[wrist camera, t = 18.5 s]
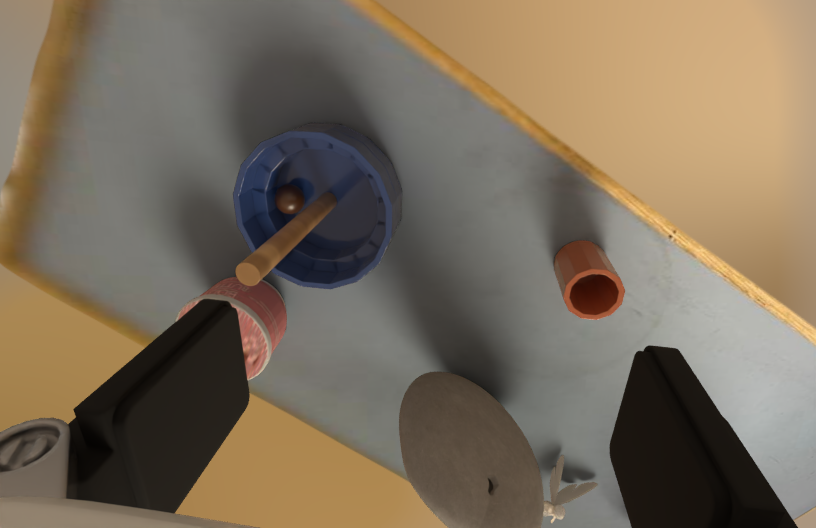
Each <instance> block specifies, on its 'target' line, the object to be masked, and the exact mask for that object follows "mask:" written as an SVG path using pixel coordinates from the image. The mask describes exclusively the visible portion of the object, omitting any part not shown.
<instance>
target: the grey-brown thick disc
mask: <svg viewBox="0 0 816 528" xmlns="http://www.w3.org/2000/svg"><path fill="white" fill-rule="evenodd" d="M399 433H400V443H401V451H402V458H403V463H404V467H405V470H406V473H407V476H408V478H409V481H410V482H411V484H412V486H413V488H414V489H415V490H416V492H417V494H418V495H419V496H420V498H421V499H422V500H423V502H424V503H425V504H426V505H427V506H428V507H429V508H430V510H431V511H432V512H433V513H434V514H435V515H436V516H437V517H438V518H439V519H440V520H441V521H442V522H443V523H444V524H445V525H446V526H447V527H448V528H541V524H542V520H543V512H544V497H543V486H542V480H541V475H540V471H539V467H538V464H537V461H536V458H535V456H534V454H533V451H532V449H531V447H530V445H529V443H528V441H527V439H526V438H525V436H524V434H523V433H522V431H521V429H520V428H519V426H518V425H517V423H516V422H515V421H514V419H513V418H512V417H511V416H510V414H509V413H508V412H507V411H506V410H505V408H504V407H503V406H502V405H501V404H500V403H499V402H498V401H497V400H496V399H495V398H494V397H492V396H491V395H490V394H489V393H488V392H486V391H485V390H484V389H483V388H481V387H480V386H478V385H477V384H475V383H473V382H472V381H470V380H468V379H466V378H464V377H461V376H459V375H456V374H452V373H448V372H430V373H426V374H423V375H421V376H419V377H418V378H417V379H415V380H414V381H413V382H412V384H411V385H410V386H409V388H408V389H407V391H406V393H405V395H404V398H403V400H402V404H401V408H400V415H399Z"/></svg>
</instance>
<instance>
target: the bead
mask: <svg viewBox="0 0 816 528" xmlns="http://www.w3.org/2000/svg"><path fill="white" fill-rule="evenodd" d="M274 200H275V204H276V206H277V208H278V209H279V210H280V211H281V212H283V213H286V214H295V213H297V212H299V211H300V210H301V209H302V208H303V206H304V203H305V196H304V194H303V192H302V190H301V189H300V188H299V187H297V186H295V185H291V184H287V185H283V186H281V187H280V188H279V189H278V190H277V191H276V193H275V198H274Z"/></svg>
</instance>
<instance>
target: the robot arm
mask: <svg viewBox="0 0 816 528" xmlns="http://www.w3.org/2000/svg"><path fill="white" fill-rule="evenodd" d="M248 402H249V387H248V380H247V373H246V366H245V360H244V353H243V346H242V339H241V332H240V325H239V318H238V312H237V310H236V308H234V307H232V306H231V304H230V302H228V301H225V300H215V299H203V300H201V301H200V302H199V303H197V304H196V305H195V306H194V307H193V308H192V309H190V310H189V311H188V312H187V313H186V314H185V315H183V316H182V317H181V318H180V319H179V320H177V321H176V322H175V323H174V324H173V325H172V326H170V327H169V328H168V329H167V330H166V331H165V332H163V333H162V334H161V335H160V336H159V337H158V338H156V339H155V340H154V341H153V342H152V343H151V344H149V345H148V346H147V347H146V348H145V349H144V350H142V351H141V352H140V353H139V354H138V355H136V356H135V357H134V358H133V359H132V360H131V361H129V362H128V363H127V364H126V365H125V366H124V367H122V368H121V369H120V370H119V371H118V372H117V373H115V374H114V375H113V376H112V377H111V378H110V379H108V380H107V381H106V382H105V383H104V384H102V385H101V386H100V387H99V388H98V389H97V390H96V391H94V392H93V393H92V394H91V395H90V396H88V397H87V398H86V399H85V400H84V401H82V402H81V403H80V404H79V405H78V406H77V407H75V408H74V412H75V415H76V418H75V419H74V420H73V421H71V422H70V423H69V424H67V423H66V422H64V421H63V420H60V419H56V418H39V419H35V420H30V421H26V422H23V423H20V424H17V425H15V426H12V427H10V428H8V429H6V430H4V431H2V432H0V528H258V527H252V526H245V525H240V524H233V523H228V522H222V521H216V520H210V519H204V518H198V517H192V516H186V515H180V514H174V513H175V512H176V510H177V509H178V507H179V506H180V505H181V503H182V502H183V500H184V499H185V497H186V496H187V494H188V493H189V491H190V490H191V488H192V487H193V485H194V484H195V483H196V481H197V479H198V478H199V477H200V475H201V474H202V472H203V471H204V469H205V468H206V467H207V465H208V464H209V462H210V461H211V459H212V458H213V456H214V455H215V453H216V452H217V450H218V449H219V448H220V446H221V445H222V443H223V442H224V440H225V439H226V437H227V436H228V434H229V433H230V431H231V430H232V429H233V427H234V425H235V424H236V423H237V421H238V420H239V418H240V417H241V415H242V414H243V412H244V411H245V409H246V407H247V405H248ZM610 458H611V462H612V465H613V468H614V471H615V475H616V478H617V481H618V484H619V488H620V491H621V494H622V497H623V501H624V504H625V507H626V510H627V514H628V517H629V520H630V523H631V526H632V528H798V527H797V526H796V524H795V523H794V521H793V519H792V518H791V516H790V515H789V513H788V512H787V510H786V509H785V507H784V506H783V504H782V503H781V501H780V500H779V498H778V497H777V495H776V494H775V492H774V491H773V489H772V488H771V486H770V485H769V483H768V482H767V480H766V479H765V477H764V476H763V474H762V473H761V471H760V470H759V468H758V467H757V465H756V464H755V462H754V460H753V459H752V457H751V456H750V454H749V453H748V451H747V450H746V448H745V447H744V445H743V444H742V442H741V441H740V439H739V438H738V436H737V435H736V433H735V432H734V430H733V429H732V427H731V426H730V424H729V423H728V422H727V420H726V419H725V418H724V417H722V415H721V414H720V412H719V411H718V409H717V408H716V406H715V404H714V403H713V401H712V400H711V398H710V397H709V395H708V394H707V392H706V391H705V389H704V388H703V386H702V385H701V383H700V382H699V380H698V379H697V377H696V375H695V374H694V372H693V371H692V369H691V368H690V366H689V365H688V363H687V362H686V360H685V359H684V357H683V356H682V354H681V353H680V351H679V350H678V349H676V348H668V347H659V346H647V347H646V348H645V349H644V351H638V352H636V354H635V356H634V360H633V363H632V367H631V370H630V374H629V377H628V381H627V385H626V388H625V392H624V395H623V399H622V402H621V406H620V409H619V413H618V417H617V420H616V424H615V427H614V431H613V434H612V438H611V442H610Z"/></svg>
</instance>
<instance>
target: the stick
mask: <svg viewBox="0 0 816 528" xmlns="http://www.w3.org/2000/svg"><path fill="white" fill-rule="evenodd" d="M336 205H337V199H336V197H335V196H334V195H333V194H332V193H329V192H326V193H324V194H322V195H321V196H320V197H319V198H318V199H316V200H315V201H314V202H313V203H312V204H310V205H309V206H308V207H307V208H306V209H304V210H303V211H302V212H301V213H300V214H298V215H297V216H296V217H295V218H294V219H292V220H291V221H290V222H289V223H288V224H286V225H285V226H284V227H283V228H282V229H280V230H279V231H278V232H277V233H276V234H274V235H273V236H272V237H271V238H270V239H268V240H267V241H266V242H265V243H264V244H262V245H261V246H260V247H259V248H258V249H256V250H255V251H254V252H253V253H252V254H250V255H249V256H248V257H247V258H246V259H244V260H243V261H242V262H241V263H240V264H239V265H238V266H237V267H236V276H237V278H238V280H239V281H240V282H241V283H243V284H244V285H247V286H254V285H256V284H257V283H259V282H260V281H261V280H262V279H263V278H264V277H265V276H266V275H267V274H268V273H269V272H270V271H271V270H272V269H273V268H274V267H275V266H276V265H277V264H278V263H279V262H280V261H281V260H282V259H283V258H284V257H285V256H286V255H287V254H288V253H289V252H290V251H291V250H292V249H293V248H294V247H295V246H296V245H297V244H298V243H299V242H300V241H301V240H302V239H303V238H304V237H305V236H306V235H307V234H308V233H309V232H310V231H311V230H312V229H313V228H314V227H315V226H316V225H317V224H318V223H319V222H320V221H321V220H322V219H323V218H324V217H325V216H326V215H327V214H328V213H329V212H330V211H331V210H332V209H333V208H334V207H335V206H336Z"/></svg>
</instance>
